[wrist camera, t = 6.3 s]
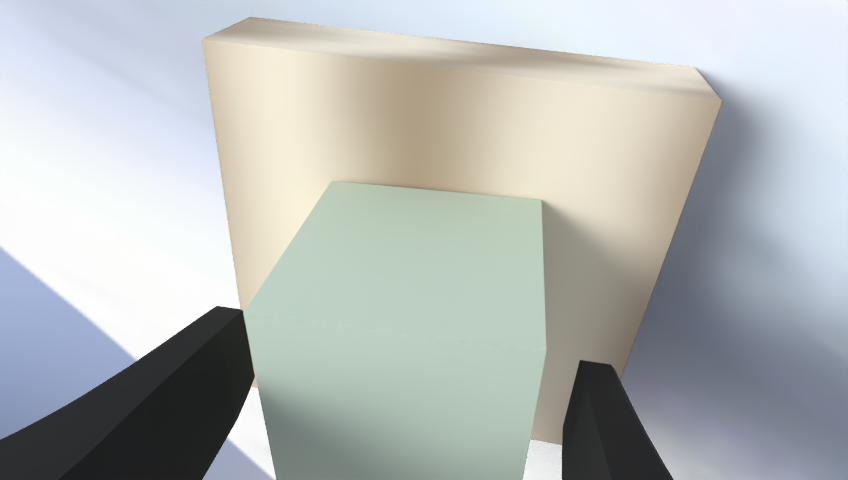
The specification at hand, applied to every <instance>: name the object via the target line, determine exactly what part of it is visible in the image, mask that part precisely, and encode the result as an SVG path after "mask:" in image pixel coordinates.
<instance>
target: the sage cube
mask: <svg viewBox="0 0 848 480" xmlns="http://www.w3.org/2000/svg"><path fill="white" fill-rule="evenodd" d="M243 315H244V320H245V325H246V330H247V335H248V340H249V345H250V350H251V355H252V360H253V365H254V370H255V375H256V380H257V385H258V390H259V395H260V400H261V405H262V410H263V415H264V420H265V425H266V430H267V435H268V440H269V445H270V450H271V455H272V460H273V465H274V470H275V475H276V480H522V479H523V474H524V469H525V463H526V458H527V452H528V447H529V442H530V436H531V431H532V426H533V420H534V415H535V409H536V404H537V399H538V393H539V388H540V383H541V377H542V372H543V366H544V361H545V356H546V324H545V294H544V264H543V234H542V204H541V200H535V199H524V198H513V197H503V196H492V195H481V194H470V193H459V192H448V191H437V190H426V189H415V188H404V187H393V186H382V185H371V184H361V183H350V182H339V181H331V182H330V184H329V185H328V187H327V188H326V190H325V191H324V193H323V194H322V196H321V197H320V199H319V200H318V202H317V203H316V205H315V206H314V208H313V209H312V211H311V212H310V214H309V215H308V217H307V218H306V220H305V221H304V223H303V224H302V226H301V227H300V229H299V230H298V232H297V233H296V235H295V236H294V238H293V239H292V241H291V242H290V244H289V245H288V247H287V248H286V250H285V251H284V253H283V254H282V256H281V257H280V259H279V260H278V262H277V263H276V265H275V266H274V268H273V269H272V271H271V272H270V274H269V275H268V277H267V278H266V280H265V281H264V283H263V284H262V286H261V287H260V289H259V290H258V292H257V293H256V295H255V296H254V298H253V299H252V301H251V302H250V304H249V305H248V307H247V308H246V310H245V311H244V313H243Z"/></svg>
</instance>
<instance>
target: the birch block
mask: <svg viewBox="0 0 848 480" xmlns="http://www.w3.org/2000/svg"><path fill="white" fill-rule="evenodd" d="M202 44H203V51H204V58H205V65H206V72H207V79H208V86H209V93H210V100H211V107H212V114H213V121H214V128H215V135H216V142H217V149H218V156H219V163H220V170H221V177H222V183H223V190H224V197H225V204H226V211H227V218H228V225H229V232H230V239H231V246H232V253H233V260H234V267H235V274H236V281H237V288H238V295H239V302H240V309H241V310H243V312H244V311H245V310H246V308H247V307H248V305H249V304H250V302H251V301H252V299H253V298H254V296H255V295H256V293H257V292H258V290H259V289H260V287H261V286H262V284H263V283H264V281H265V280H266V278H267V277H268V275H269V274H270V272H271V271H272V269H273V268H274V266H275V265H276V263H277V262H278V260H279V259H280V257H281V256H282V254H283V253H284V251H285V250H286V248H287V247H288V245H289V244H290V242H291V241H292V239H293V238H294V236H295V235H296V233H297V232H298V230H299V229H300V227H301V226H302V224H303V223H304V221H305V220H306V218H307V217H308V215H309V214H310V212H311V211H312V209H313V208H314V206H315V205H316V203H317V202H318V200H319V199H320V197H321V196H322V194H323V193H324V191H325V190H326V188H327V187H328V185H329V184H330V182H331V181H339V182H350V183H361V184H371V185H382V186H393V187H404V188H415V189H426V190H437V191H448V192H459V193H470V194H481V195H492V196H503V197H513V198H524V199H535V200H541V204H542V234H543V264H544V294H545V324H546V356H545V361H544V366H543V372H542V377H541V383H540V388H539V393H538V399H537V404H536V409H535V415H534V420H533V426H532V431H531V436H530V439H533V440H538V441H544V442H549V443H554V444H560V445H562V432H563V424H564V420H565V416H566V412H567V408H568V404H569V400H570V396H571V393H572V389H573V385H574V381H575V377H576V373H577V369H578V365H579V361H580V360H584V361H591V362H598V363H605V364H611V365H612V366H613V368H614V369H615V370H616V373H617V375H618V377H619V379H621V376H622V373H623V371H624V368H625V365H626V362H627V360H628V357H629V354H630V351H631V349H632V346H633V343H634V341H635V338H636V335H637V332H638V330H639V327H640V324H641V321H642V319H643V316H644V313H645V311H646V308H647V305H648V302H649V300H650V297H651V294H652V291H653V289H654V286H655V283H656V281H657V278H658V275H659V272H660V270H661V267H662V264H663V261H664V259H665V256H666V253H667V251H668V248H669V245H670V242H671V240H672V237H673V234H674V231H675V229H676V226H677V223H678V221H679V218H680V215H681V212H682V210H683V207H684V204H685V201H686V199H687V196H688V193H689V190H690V188H691V185H692V182H693V180H694V177H695V174H696V171H697V169H698V166H699V163H700V160H701V158H702V155H703V152H704V150H705V147H706V144H707V141H708V139H709V136H710V133H711V130H712V128H713V125H714V122H715V120H716V117H717V114H718V111H719V109H720V106H721V103H722V100H721V98H720V97H719V96H718V95H717V94H716V92H715V91H714V90H713V89H712V88H711V86H710V85H709V84H708V83H707V82H706V80H705V79H704V78H703V77H702V76H701V74H700V73H699V72H698V71H697V70H696V68H695V67H690V66H681V65H672V64H663V63H654V62H646V61H637V60H628V59H619V58H610V57H601V56H592V55H583V54H574V53H566V52H557V51H548V50H539V49H530V48H521V47H512V46H503V45H495V44H486V43H477V42H468V41H459V40H450V39H441V38H432V37H423V36H415V35H406V34H397V33H388V32H379V31H370V30H361V29H352V28H343V27H335V26H326V25H317V24H308V23H299V22H290V21H281V20H272V19H263V18H255V17H249V18H247V19H245V20H243V21H240V22H238V23H236V24H234V25H232V26H230V27H227V28H225V29H223V30H221V31H219V32H216V33H214V34H212V35H210V36H208V37H206V38H203V39H202ZM248 341H249V340H248ZM249 346H250V345H249ZM250 352H251V350H250ZM251 357H252V355H251ZM252 363H253V360H252ZM253 369H254V365H253ZM254 374H255V370H254ZM252 387H256V388H258V385H257V380H256V375H255V378H254V381H253V383H252Z"/></svg>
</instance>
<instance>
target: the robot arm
mask: <svg viewBox="0 0 848 480" xmlns="http://www.w3.org/2000/svg"><path fill="white" fill-rule="evenodd" d="M243 313H244V312H243V310H240V309H233V308H227V307H220V306H216V307H215V308H213V309H212V310H210V311H209V312H207V313H206V314H204V315H203V316H201V317H200V318H198V319H197V320H196V321H194V322H193V323H191V324H190V325H188V326H187V327H186V328H184V329H183V330H181V331H180V332H178V333H177V334H176V335H174V336H173V337H171V338H170V339H169V340H167V341H166V342H164V343H163V344H161V345H160V346H158V347H157V348H155V349H154V350H152V351H151V352H150V353H148V354H147V355H145V356H144V357H142V358H141V359H139V360H138V361H136V362H135V363H134V364H132V365H130V366H129V367H127V368H126V369H124V370H123V371H121V372H119V373H118V374H116V375H115V376H113V377H112V378H110V379H108V380H107V381H105V382H104V383H102V384H100V385H99V386H98V387H96V388H94V389H92V390H91V391H89V392H88V393H86V394H85V395H83V396H81V397H80V398H78V399H76V400H74V401H73V402H71V403H69V404H68V405H66V406H64V407H62V408H61V409H59V410H57V411H55V412H53V413H52V414H50V415H48V416H46V417H44V418H42V419H41V420H39V421H37V422H35V423H33V424H31V425H29V426H27V427H25V428H23V429H21V430H20V431H18V432H16V433H14V434H12V435H9V436H8V437H5V438H3V439H1V440H0V480H202V479H203V477H204V476H205V474H206V472H207V470H208V469H209V467H210V465H211V464H212V462H213V460H214V459H215V457H216V455H217V453H218V452H219V450H220V448H221V447H222V445H223V443H224V441H225V440H226V438H227V436H228V434H229V433H230V431H231V429H232V427H233V426H234V424H235V422H236V420H237V418H238V416H239V414H240V412H241V409H242V407H243V405H244V402H245V400H246V398H247V395H248V393H249V390H250V388H251V385H252V383H253V381H254V378H255V374H254V369H253V363H252V357H251V352H250V346H249V341H248V335H247V330H246V325H245V320H244V315H243ZM562 480H674V479H673V478H672V476H671V475H670V473H669V471H668V470H667V468H666V466H665V465H664V463H663V461H662V459H661V458H660V456H659V454H658V452H657V451H656V449H655V447H654V445H653V444H652V442H651V440H650V438H649V437H648V435H647V433H646V431H645V429H644V428H643V426H642V424H641V422H640V420H639V418H638V416H637V414H636V412H635V410H634V408H633V406H632V404H631V402H630V400H629V398H628V396H627V394H626V392H625V390H624V388H623V386H622V384H621V381H620V379H619V377H618V375H617V373H616V370H615V369H614V368H613V366H612V365H611V364H605V363H598V362H591V361H584V360H580V361H579V365H578V369H577V373H576V377H575V381H574V385H573V389H572V393H571V396H570V400H569V404H568V408H567V412H566V416H565V420H564V424H563V432H562Z"/></svg>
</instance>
